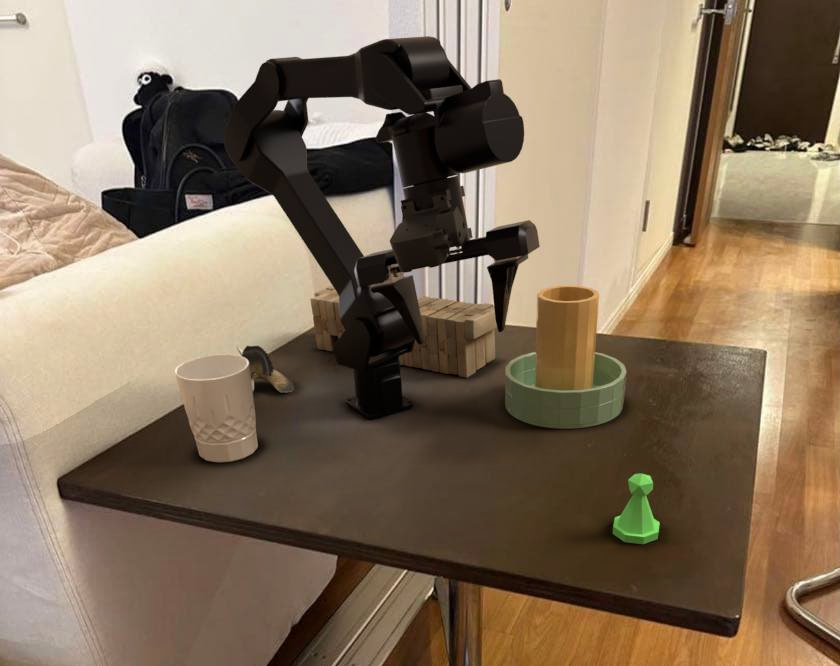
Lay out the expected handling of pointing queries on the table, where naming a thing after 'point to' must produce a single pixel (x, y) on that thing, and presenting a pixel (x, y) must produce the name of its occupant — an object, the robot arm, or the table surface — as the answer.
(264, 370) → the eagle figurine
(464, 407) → the table surface
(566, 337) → the tumbler
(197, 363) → the white cup
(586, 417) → the pan
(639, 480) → the game piece
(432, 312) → the block tower
